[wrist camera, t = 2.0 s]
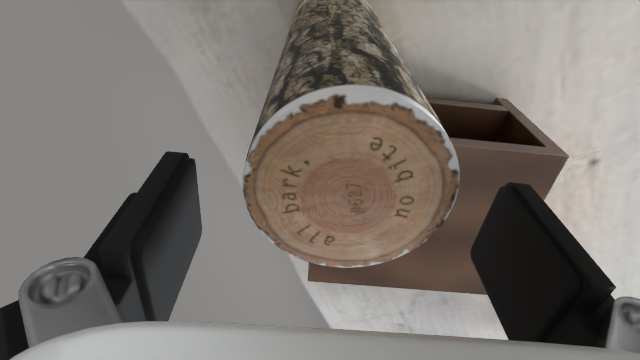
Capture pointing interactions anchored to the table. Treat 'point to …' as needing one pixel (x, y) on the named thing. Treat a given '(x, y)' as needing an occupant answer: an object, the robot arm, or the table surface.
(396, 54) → the paper tube
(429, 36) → the table surface
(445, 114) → the walnut storage box
